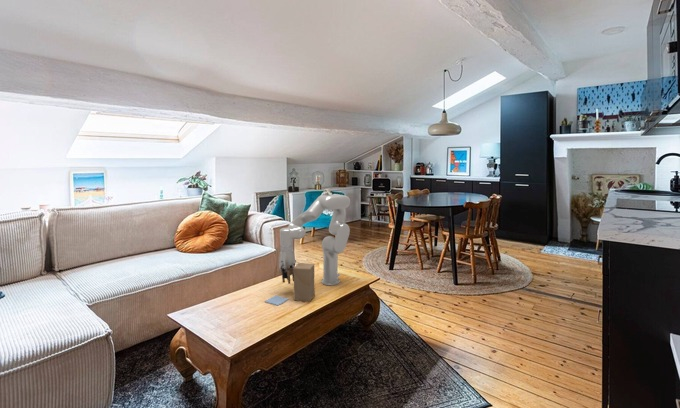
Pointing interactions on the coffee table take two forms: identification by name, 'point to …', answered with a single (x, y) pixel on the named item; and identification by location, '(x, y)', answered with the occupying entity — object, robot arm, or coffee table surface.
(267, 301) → the mat
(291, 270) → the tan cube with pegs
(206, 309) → the coffee table surface
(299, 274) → the wooden block
